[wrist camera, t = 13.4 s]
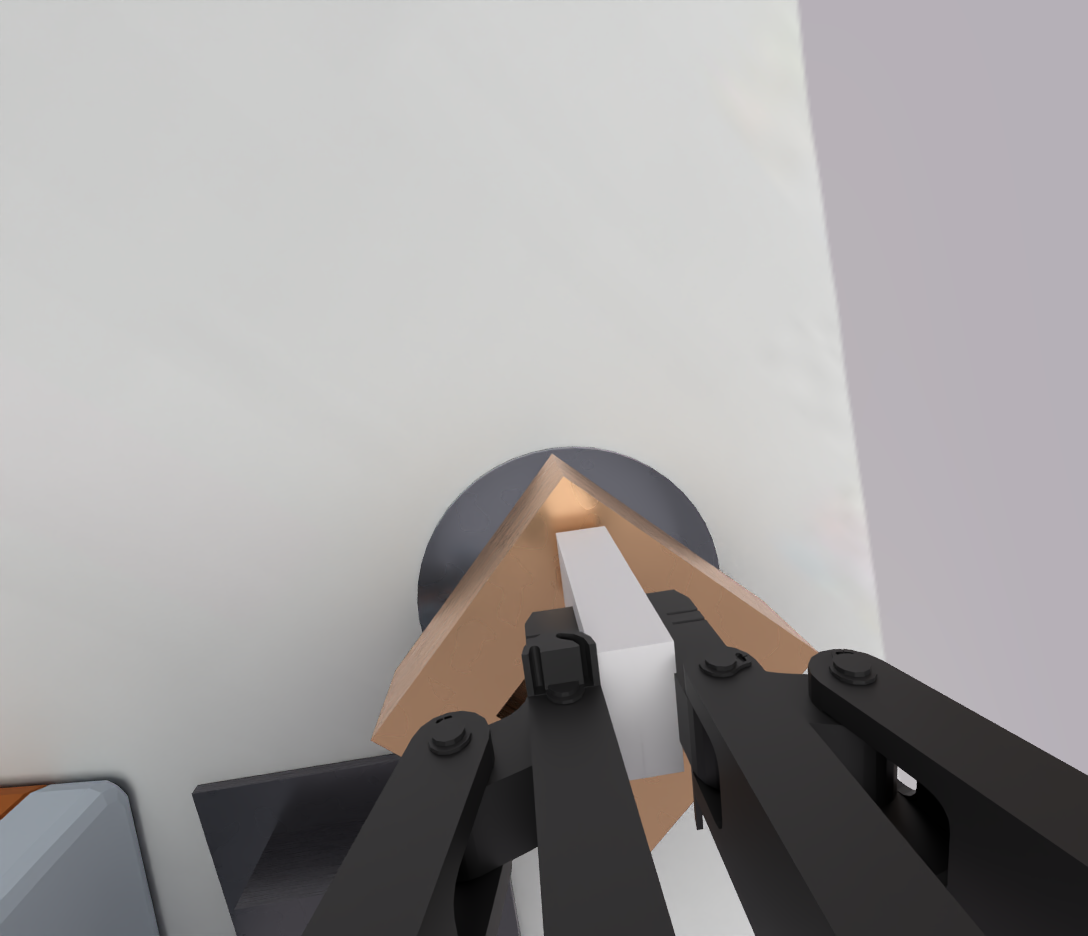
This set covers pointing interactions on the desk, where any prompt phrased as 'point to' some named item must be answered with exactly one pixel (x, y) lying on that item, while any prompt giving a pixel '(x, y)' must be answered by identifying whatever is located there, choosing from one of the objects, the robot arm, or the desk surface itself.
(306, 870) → the stand
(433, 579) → the hub
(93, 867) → the grey rounded upright slab
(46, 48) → the desk surface
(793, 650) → the brown square ring block
